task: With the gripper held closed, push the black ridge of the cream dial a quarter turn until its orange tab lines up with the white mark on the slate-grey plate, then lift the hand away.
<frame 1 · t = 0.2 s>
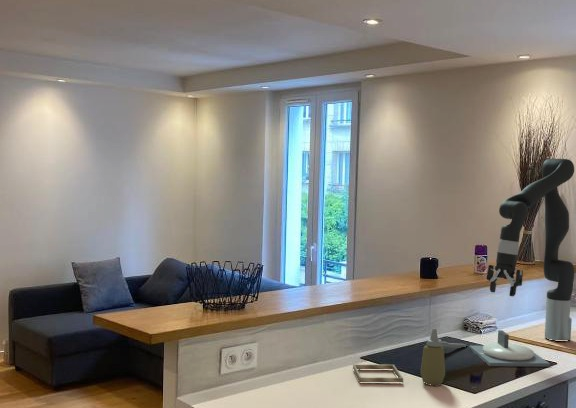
hand: (502, 294, 254), 22 cm above the counter, tool pointing down, fingers open, 8 cm apart
caliper: (451, 351, 254), on the counter
dial plate: (507, 357, 247), on the counter
squeeze bottle: (432, 384, 215), on the counter
bread board rim: (377, 376, 220), on the counter
dial: (507, 344, 247), point 5 cm above the counter, hinge at 0.0°
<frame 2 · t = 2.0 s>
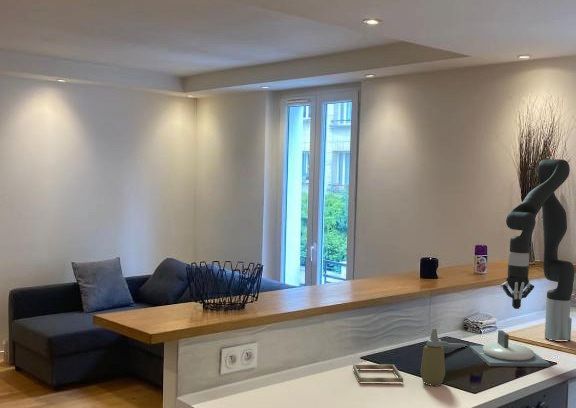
hand: (516, 308, 253), 17 cm above the counter, tool pointing down, fingers closed
nothing on the counter moved.
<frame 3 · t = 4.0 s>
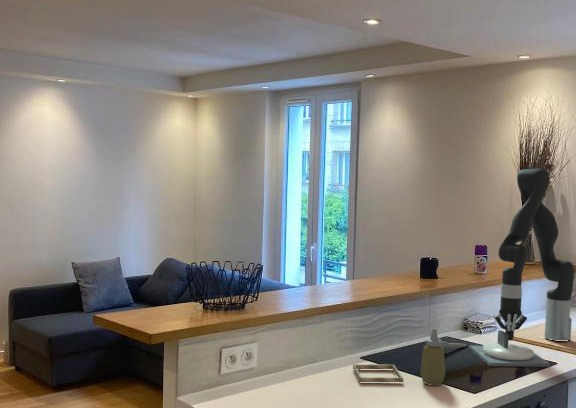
hand: (509, 339, 254), 5 cm above the counter, tool pointing down, fingers closed
dial: (507, 344, 247), point 5 cm above the counter, hinge at 0.2°, touching gripper
everything else where it was.
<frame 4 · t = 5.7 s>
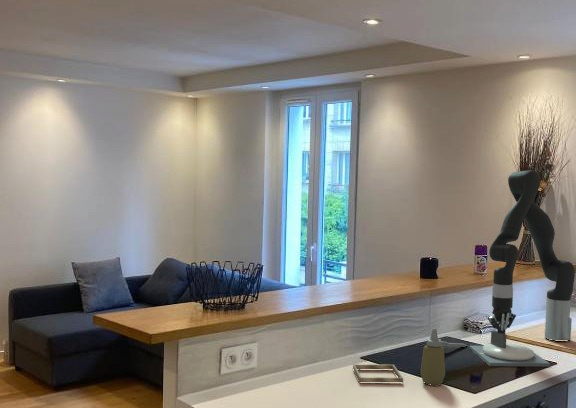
hand: (501, 339, 255), 5 cm above the counter, tool pointing down, fingers closed
dial: (507, 344, 247), point 5 cm above the counter, hinge at 21.5°, touching gripper
everything else where it was.
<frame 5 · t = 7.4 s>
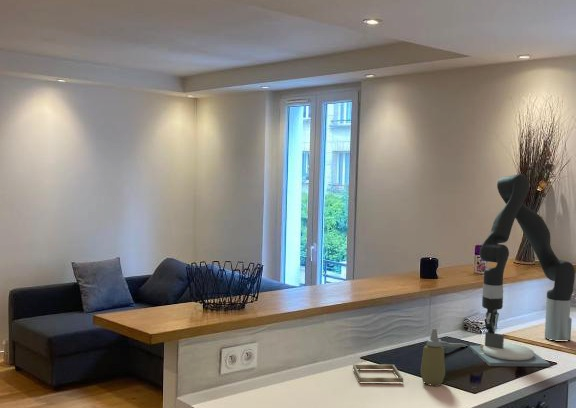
hand: (491, 339, 253), 5 cm above the counter, tool pointing down, fingers closed
dial: (506, 344, 247), point 5 cm above the counter, hinge at 52.6°, touching gripper
everything else where it was.
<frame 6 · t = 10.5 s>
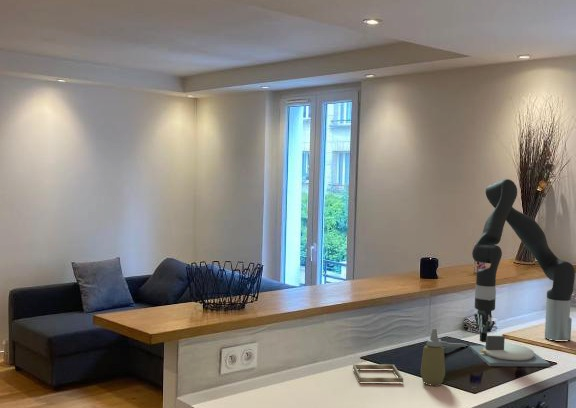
hand: (483, 341, 251), 4 cm above the counter, tool pointing down, fingers closed
dial: (506, 344, 246), point 5 cm above the counter, hinge at 93.9°
everything else where it was.
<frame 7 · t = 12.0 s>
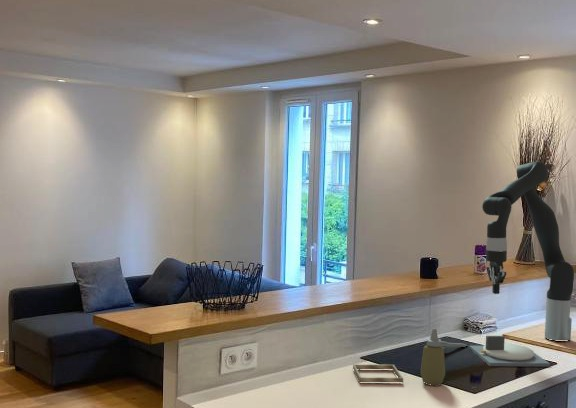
hand: (495, 293, 254), 22 cm above the counter, tool pointing down, fingers closed
nothing on the counter moved.
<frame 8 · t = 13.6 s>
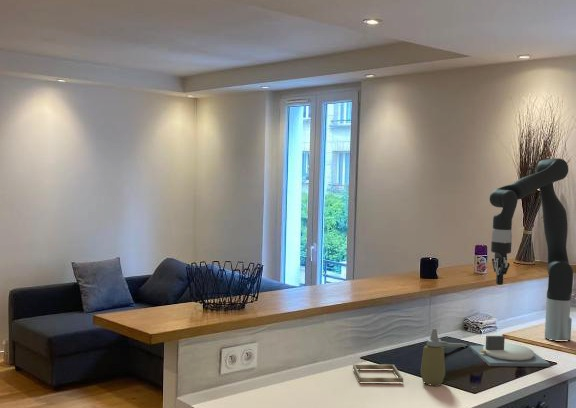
hand: (499, 284, 259), 25 cm above the counter, tool pointing down, fingers closed
nothing on the counter moved.
at the end: dial at +94° (first picture: +0°); caliper moved 0.6 cm from its start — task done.
